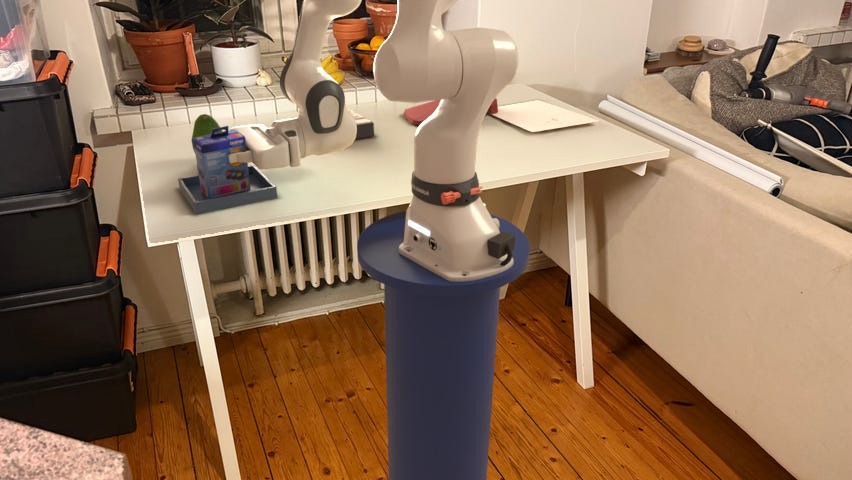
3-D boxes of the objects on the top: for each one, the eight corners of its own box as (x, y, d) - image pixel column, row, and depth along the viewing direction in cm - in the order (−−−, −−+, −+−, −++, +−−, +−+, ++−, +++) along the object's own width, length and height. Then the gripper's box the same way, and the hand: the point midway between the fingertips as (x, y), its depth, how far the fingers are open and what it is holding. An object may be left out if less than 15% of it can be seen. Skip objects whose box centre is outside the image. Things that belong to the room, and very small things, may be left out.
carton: (418, 139, 190) (501, 114, 195) (416, 122, 188) (499, 97, 192) (403, 126, 200) (482, 103, 205) (400, 110, 198) (480, 86, 202)
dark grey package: (351, 108, 192) (374, 119, 180) (352, 123, 194) (374, 136, 182) (314, 113, 188) (334, 126, 176) (315, 129, 190) (335, 142, 178)
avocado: (190, 168, 164) (182, 118, 158) (202, 157, 171) (195, 108, 165) (223, 169, 163) (216, 119, 157) (233, 158, 170) (227, 109, 164)
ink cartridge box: (209, 200, 146) (198, 133, 139) (199, 192, 150) (188, 126, 143) (252, 189, 151) (244, 124, 144) (242, 181, 155) (234, 117, 148)
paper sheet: (522, 136, 179) (523, 132, 179) (476, 110, 204) (476, 106, 203) (603, 125, 185) (603, 121, 184) (548, 101, 210) (548, 97, 209)
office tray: (277, 197, 148) (276, 186, 147) (196, 214, 141) (194, 203, 140) (255, 175, 160) (254, 164, 158) (179, 189, 153) (177, 178, 152)
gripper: (267, 114, 158) (206, 123, 152) (300, 139, 142) (233, 151, 136) (270, 141, 161) (210, 151, 155) (302, 168, 145) (237, 181, 139)
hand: (221, 151), depth 146 cm, fingers open, 8 cm apart
